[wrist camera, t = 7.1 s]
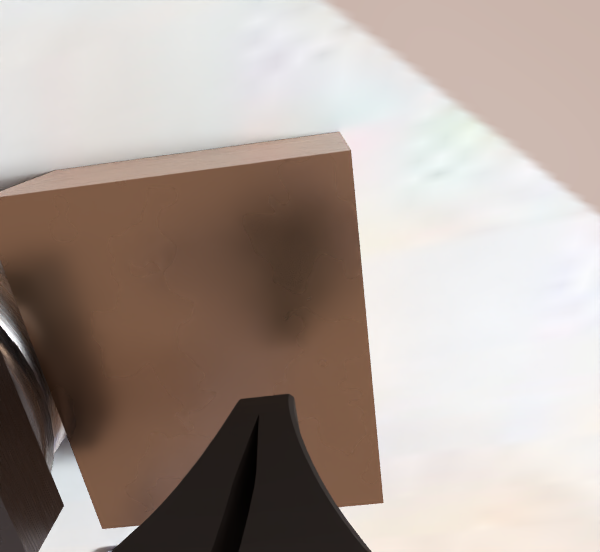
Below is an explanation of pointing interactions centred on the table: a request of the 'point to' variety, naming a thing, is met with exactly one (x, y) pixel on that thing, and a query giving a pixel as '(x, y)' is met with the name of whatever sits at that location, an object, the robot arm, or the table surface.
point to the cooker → (193, 311)
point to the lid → (24, 455)
